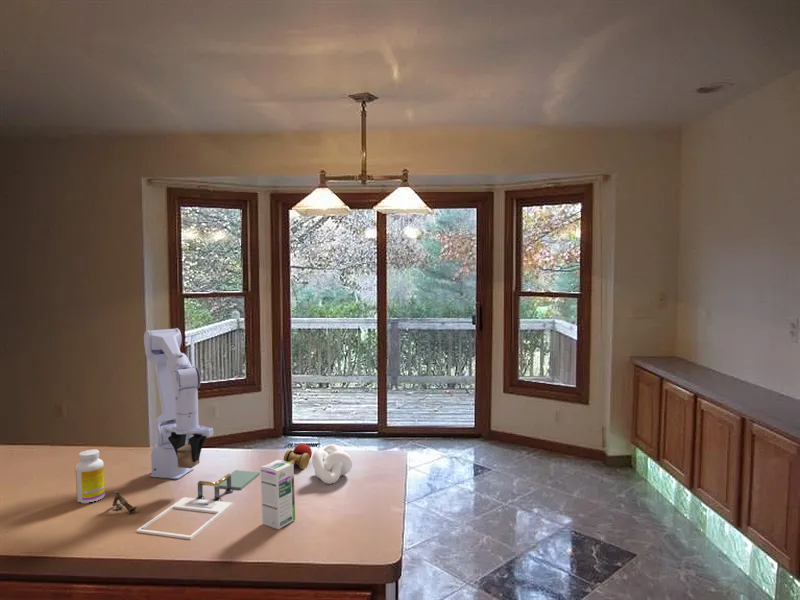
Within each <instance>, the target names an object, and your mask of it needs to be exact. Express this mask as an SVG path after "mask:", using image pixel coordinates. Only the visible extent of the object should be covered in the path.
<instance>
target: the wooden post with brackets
mask: <svg viewBox="0 0 800 600" xmlns="http://www.w3.org/2000/svg"><path fill="white" fill-rule="evenodd" d="M113 496H114V499H113V502H112V506H113V507H116V509H117V510H118V509H120V511H123V509H124V508H123V507H125V509H126V510H127V512H128V513H127V514H129V515H130V513H131V514H133V513H136V510H137V506H136V505H134V506H133V505H131V504H130V503H129V502H128V500H126V498H125V497H123V496H122V493H120V491H118V490H117V491H116V490H115V491H113ZM118 501H119V503H118ZM132 512H133V513H132Z"/></svg>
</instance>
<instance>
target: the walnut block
mask: <svg viewBox="0 0 800 600" xmlns="http://www.w3.org/2000/svg"><path fill="white" fill-rule="evenodd" d="M177 456H178V467H181V468H194V467H195V466H197V465H198V464H200V459H199V460H198V461H196V462H193V460H192V450H191V445H190V444H186V445H184V446H183V447H181V448H179V449H177Z"/></svg>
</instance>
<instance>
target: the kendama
mask: <svg viewBox="0 0 800 600" xmlns="http://www.w3.org/2000/svg"><path fill="white" fill-rule="evenodd" d="M312 457H313V450H312V448H311V447H310V445H308V444H306V443H299V444H297V445H296V446H295V447H294V448H293V450H292V449H287V450H286V451H285V453H284V456H283V461H287V462H290V463H293V465H294V466H295V464H296V465H298V466H299V467H298V468H299V469H302V470H305V469H307V467H308V466H309V463H310V460H311V458H312Z"/></svg>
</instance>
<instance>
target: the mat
mask: <svg viewBox="0 0 800 600" xmlns="http://www.w3.org/2000/svg"><path fill="white" fill-rule="evenodd" d="M229 474H230V475H231V489H233V490H240V489H241V490H243V489H244V488H245V487H246V486H247V485H249V484H250V483H252V481H255V479H256V478H258V477H259V475H260V476H261V471H258V472H257V471H249V470H248V471H247V470H238V469H237V470H236V469H235V470H234V471H232V472H231V473H229ZM220 488H223V489H227V480H225V481H224V482H223V483H221V484H220V485H219V489H220ZM242 488H243V489H242Z"/></svg>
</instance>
